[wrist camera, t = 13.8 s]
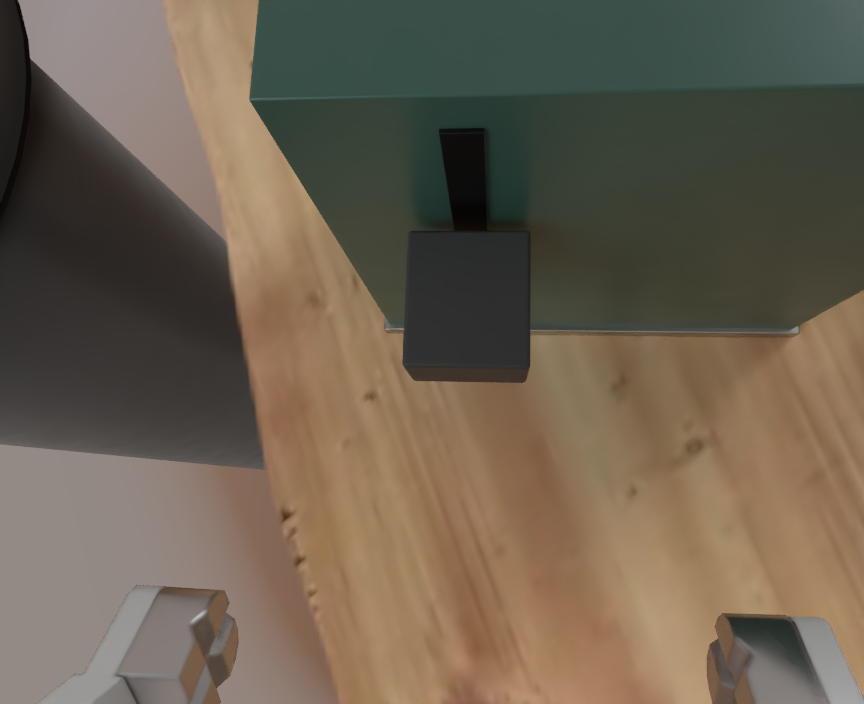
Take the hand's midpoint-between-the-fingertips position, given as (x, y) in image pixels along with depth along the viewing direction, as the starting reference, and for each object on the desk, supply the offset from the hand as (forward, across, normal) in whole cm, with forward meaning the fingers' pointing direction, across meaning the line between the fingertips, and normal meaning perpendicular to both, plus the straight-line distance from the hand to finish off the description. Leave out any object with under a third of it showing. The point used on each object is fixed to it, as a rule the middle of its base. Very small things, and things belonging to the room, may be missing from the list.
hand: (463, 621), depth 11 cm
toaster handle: (+8, 0, -1) cm, 8 cm away
